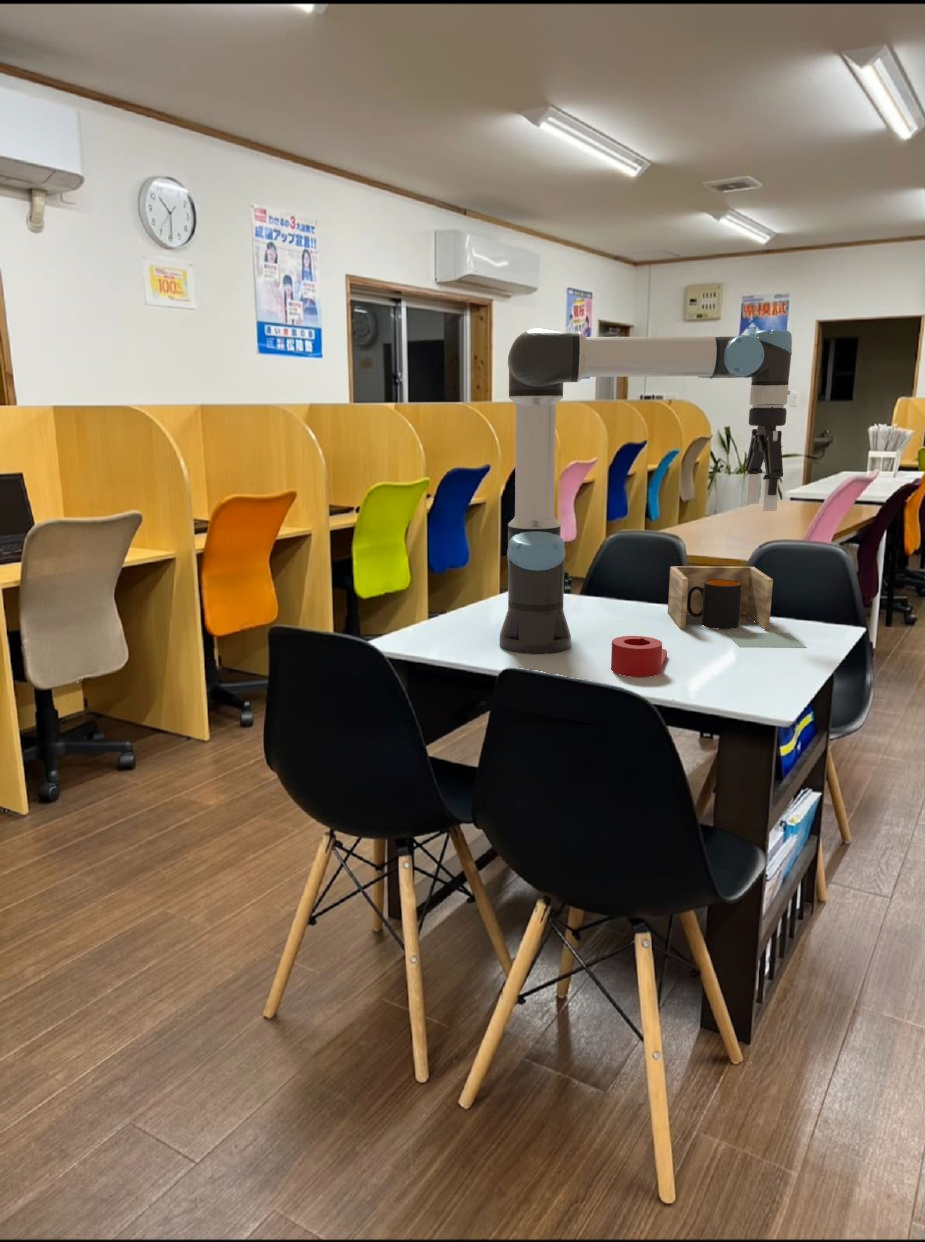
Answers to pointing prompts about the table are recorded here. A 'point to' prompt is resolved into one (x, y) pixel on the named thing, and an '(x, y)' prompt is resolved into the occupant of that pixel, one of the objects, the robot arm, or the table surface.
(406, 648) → the table surface
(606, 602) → the table surface
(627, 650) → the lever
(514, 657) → the table surface
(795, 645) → the mat
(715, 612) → the mug
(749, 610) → the cubby
